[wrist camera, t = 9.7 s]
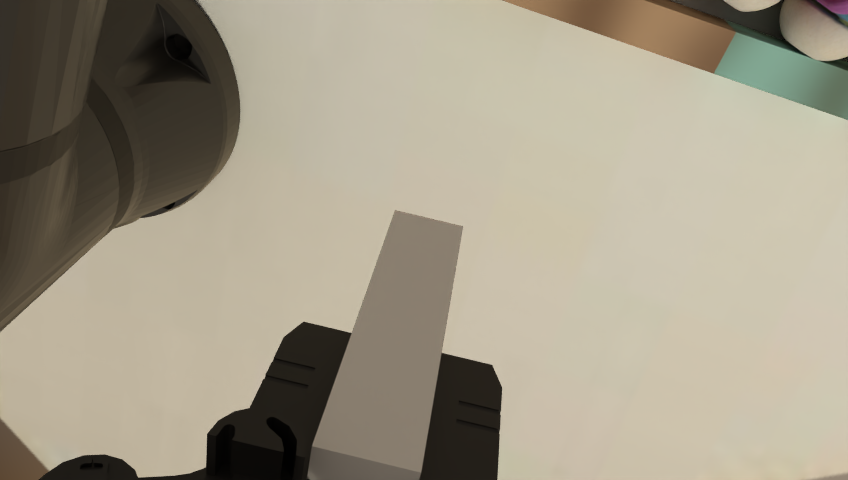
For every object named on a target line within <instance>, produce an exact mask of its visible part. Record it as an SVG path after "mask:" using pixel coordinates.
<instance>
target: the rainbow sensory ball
mask: <svg viewBox="0 0 848 480" xmlns="http://www.w3.org/2000/svg"><path fill="white" fill-rule="evenodd" d="M724 1H725V2H726V3H728V4H729V5H731V6H732V7H734V8H735V9H737V10H739V11H744V12H750V11H758V10H762V9H765V8H768V7H770V6H772V5H774V4H776V3H778V2H779V1H781V0H724ZM780 29H781V33H782V35H783V37H784V38H785V39H786V40H787V41H788V42H789V43H790V44H792V45H793V46H795V47H796V48H797V49H799V50H800V51H801V52H803V53H805V54H806V55H808V56H809V57H811V58H813V59H815V60H819V61H831V60H837V59H841V58H844V57H847V56H848V0H784V2H783V5H782V8H781V12H780Z"/></svg>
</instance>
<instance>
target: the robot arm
mask: <svg viewBox="0 0 848 480" xmlns="http://www.w3.org/2000/svg"><path fill="white" fill-rule="evenodd" d="M239 122H240V99H239V91H238V85H237V80H236V77H235V73H234V69H233V66H232V63H231V61H230V58H229V56H228V53H227V51H226V49H225V47H224V45H223V43H222V41H221V39H220V37H219V35H218V34H217V32H216V30H215V29H214V27H213V26H212V24H211V23H210V21H209V20H208V18H207V17H206V16H205V14H204V13H203V12H202V11H201V9H200V8H199V7H198V6H197V5H196V3H195V2H194V1H193V0H0V332H1V331H2V330H3V329H4V328H5V327H6V326H7V325H8V324H9V323H10V322H11V321H13V320H14V319H15V318H16V317H17V316H18V315H19V314H20V313H21V312H22V311H23V310H25V309H26V308H27V307H28V306H29V305H30V304H31V303H32V302H33V301H34V300H35V299H37V298H38V297H39V296H40V295H41V294H42V293H43V292H44V291H45V290H46V289H47V288H49V287H50V286H51V285H52V284H53V283H54V282H55V281H56V280H57V279H58V278H59V277H61V276H62V275H63V274H64V273H65V272H66V271H67V270H68V269H69V268H70V267H71V266H73V265H74V264H75V263H76V262H77V261H78V260H79V259H80V258H81V257H82V256H83V255H85V254H86V253H87V252H88V251H89V250H90V249H91V248H92V247H93V246H94V245H95V244H97V243H98V242H99V241H100V240H101V239H102V238H103V237H104V236H105V235H107V234H108V233H109V232H110V231H111V230H112V229H114V228H118V227H121V226H124V225H127V224H130V223H132V222H134V221H136V220H138V219H139V218H145V217H151V216H155V215H159V214H162V213H165V212H168V211H171V210H173V209H175V208H177V207H180V206H181V205H183V204H185V203H186V202H188V201H189V200H191V199H192V198H194V197H195V196H196V195H197V194H199V193H200V192H201V191H202V190H203V189H204V188H205V187H206V186H207V185H208V184H209V183H210V182H211V181H212V180H213V179H214V178H215V177H216V176H217V174H218V173H219V172H220V171H221V170H222V168H223V167H224V166H225V164H226V162H227V161H228V159H229V157H230V155H231V153H232V151H233V148H234V146H235V142H236V139H237V135H238V130H239ZM462 229H463V226H460V225H455V224H451V223H447V222H443V221H438V220H434V219H430V218H426V217H422V216H417V215H413V214H409V213H405V212H401V211H396V210H395V212H394V215H393V218H392V221H391V223H390V226H389V229H388V232H387V235H386V238H385V240H384V243H383V246H382V249H381V252H380V255H379V257H378V260H377V263H376V266H375V269H374V272H373V274H372V277H371V280H370V283H369V286H368V289H367V291H366V294H365V297H364V300H363V303H362V306H361V308H360V311H359V314H358V317H357V320H356V323H355V325H354V328H353V331H352V333H349V332H345V331H340V330H336V329H332V328H328V327H324V326H320V325H315V324H311V323H307V322H303V323H301V324H300V325H299V326H297V327H296V328H295V329H294V330H292V331H291V332H290V333H289V334H287V335H286V336H285V337H284V338H283V340H282V342H281V344H280V346H279V348H278V350H277V352H276V355H275V357H274V360H273V362H272V363H271V365H270V367H269V369H268V371H267V373H266V376H265V379H263V381H262V384H261V386H260V388H259V390H258V392H257V394H256V396H255V398H254V400H253V402H252V404H251V406H250V408H248V409H244V410H239V411H234V412H233V413H231V414H229V415H227V416H226V417H224V418H222V419H220V420H219V421H218V422H217V423H216V424H215V425H214V426H213V428H212V429H211V430H210V431H209V432H208V434H207V461H206V468H204V469H201V470H198V471H195V472H193V473H190V474H183V475H177V476H163V477H143V478H138V477H137V474H136V471H135V470H134V469H133V468H132V467H131V466H129V465H128V464H127V463H126V462H125V461H123V460H122V459H118V458H115V457H111V456H108V455H84V456H81V457H78V458H75V459H72V460H69V461H66V462H63V463H61V464H60V465H58V466H57V467H55V468H54V469H52V470H51V471H49V472H48V473H46V474H45V475H44V476H43V477H41V478H40V479H39V480H497V475H498V455H499V436H500V434H499V431H500V417H501V415H500V412H501V398H502V386H501V384H500V382H499V380H498V377H497V375H496V373H495V371H494V368H493V366H492V365H490V364H486V363H481V362H477V361H473V360H469V359H465V358H461V357H456V356H452V355H448V354H444V353H442V347H443V341H444V335H445V329H446V324H447V318H448V312H449V306H450V300H451V294H452V288H453V282H454V276H455V271H456V265H457V259H458V253H459V247H460V241H461V235H462Z"/></svg>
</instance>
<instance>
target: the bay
mask: <svg viewBox="0 0 848 480" xmlns="http://www.w3.org/2000/svg"><path fill="white" fill-rule="evenodd" d="M503 1H506V2H508V3H511V4H514V5H517V6H520V7H523V8H526V9H529V10H532V11H534V12H537V13H540V14H543V15H546V16H549V17H552V18H555V19H558V20H560V21H563V22H566V23H569V24H572V25H575V26H578V27H581V28H584V29H586V30H589V31H592V32H595V33H598V34H601V35H604V36H607V37H610V38H612V39H615V40H618V41H621V42H624V43H627V44H630V45H633V46H636V47H638V48H641V49H644V50H647V51H650V52H653V53H656V54H659V55H662V56H664V57H667V58H670V59H673V60H676V61H679V62H682V63H685V64H688V65H690V66H693V67H696V68H699V69H702V70H705V71H708V72H711V73H714V74H716V75H719V76H722V77H725V78H728V79H731V80H734V81H737V82H740V83H742V84H745V85H748V86H751V87H754V88H757V89H760V90H763V91H766V92H768V93H771V94H774V95H777V96H780V97H783V98H786V99H789V100H792V101H794V102H797V103H800V104H803V105H806V106H809V107H812V108H815V109H818V110H820V111H823V112H826V113H829V114H832V115H835V116H838V117H841V118H844V119H846V120H848V62H845V61H842V60H839V59H837V60H831V61H819V60H815V59H813V58H811V57H809V56H808V55H806V54H805V53H803V52H801V51H800V50H799V49H797V48H796V47H795V46H793V45H792V44H790V43H789V42H788V41H785V40H782V39H779V38H776V37H773V36H770V35H767V34H765V33H762V32H759V31H756V30H753V29H750V28H747V27H744V26H742V25H739V24H736V23H733V22H730V21H727V20H724V19H721V18H718V17H716V16H713V15H710V14H707V13H704V12H701V11H698V10H695V9H693V8H690V7H687V6H684V5H681V4H678V3H675V2H672V1H670V0H503Z"/></svg>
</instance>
